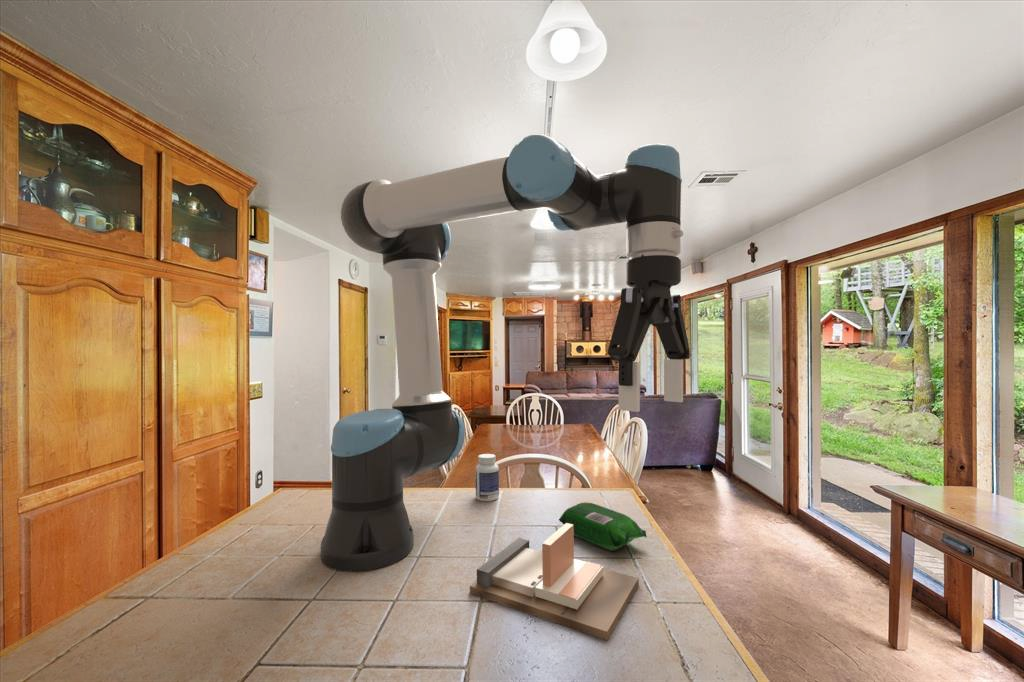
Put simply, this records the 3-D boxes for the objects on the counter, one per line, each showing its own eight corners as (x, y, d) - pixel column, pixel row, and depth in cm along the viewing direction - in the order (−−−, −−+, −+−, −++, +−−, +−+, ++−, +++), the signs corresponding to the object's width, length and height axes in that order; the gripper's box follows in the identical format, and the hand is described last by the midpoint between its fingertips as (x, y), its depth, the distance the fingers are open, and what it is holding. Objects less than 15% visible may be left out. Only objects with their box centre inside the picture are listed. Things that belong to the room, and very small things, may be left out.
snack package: (622, 563, 71) (622, 530, 71) (555, 530, 83) (555, 503, 83) (649, 550, 75) (649, 520, 75) (581, 521, 87) (581, 495, 87)
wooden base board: (469, 592, 62) (469, 571, 62) (519, 552, 74) (519, 534, 74) (607, 640, 52) (606, 614, 52) (638, 584, 64) (638, 564, 64)
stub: (535, 596, 59) (534, 545, 59) (565, 564, 67) (565, 520, 68) (577, 609, 56) (576, 555, 56) (603, 574, 64) (602, 527, 64)
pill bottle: (503, 497, 101) (503, 455, 101) (486, 503, 98) (485, 459, 98) (488, 492, 105) (488, 451, 105) (470, 498, 101) (470, 455, 102)
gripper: (633, 238, 52) (633, 419, 51) (711, 266, 70) (712, 400, 69) (581, 248, 57) (580, 412, 57) (666, 271, 75) (666, 396, 75)
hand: (652, 406), depth 63 cm, fingers open, 13 cm apart
